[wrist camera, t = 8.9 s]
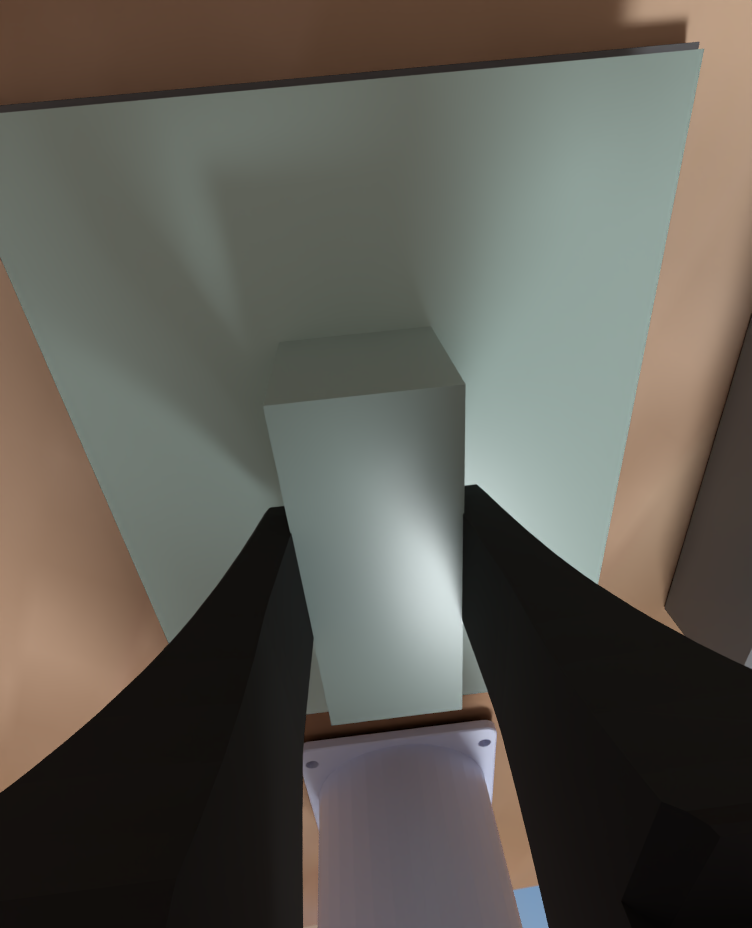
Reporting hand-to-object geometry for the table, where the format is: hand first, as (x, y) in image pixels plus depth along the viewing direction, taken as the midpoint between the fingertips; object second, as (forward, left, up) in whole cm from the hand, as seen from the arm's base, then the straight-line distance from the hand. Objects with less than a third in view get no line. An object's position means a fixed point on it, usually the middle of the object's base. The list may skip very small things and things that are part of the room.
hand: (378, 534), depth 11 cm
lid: (0, 0, -3) cm, 3 cm away
